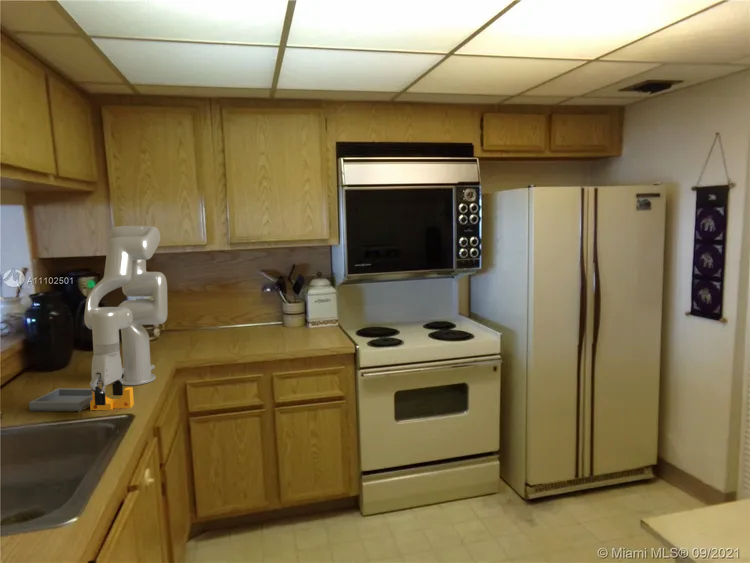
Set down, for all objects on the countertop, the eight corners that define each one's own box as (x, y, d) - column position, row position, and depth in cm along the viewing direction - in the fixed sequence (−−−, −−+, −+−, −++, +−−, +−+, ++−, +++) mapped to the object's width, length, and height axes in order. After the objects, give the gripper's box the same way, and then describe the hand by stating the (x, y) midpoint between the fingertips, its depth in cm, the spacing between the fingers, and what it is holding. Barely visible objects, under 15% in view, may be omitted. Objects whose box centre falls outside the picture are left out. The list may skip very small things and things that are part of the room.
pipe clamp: (90, 411, 163) (89, 392, 162) (97, 406, 167) (95, 387, 166) (128, 410, 163) (127, 391, 163) (133, 405, 168) (132, 387, 167)
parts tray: (59, 396, 176) (58, 388, 176) (105, 397, 176) (104, 389, 175) (29, 411, 163) (28, 402, 162) (80, 412, 162) (79, 403, 161)
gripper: (110, 342, 170) (113, 391, 172) (78, 354, 153) (81, 408, 155) (132, 343, 170) (134, 392, 172) (101, 354, 153) (104, 409, 154)
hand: (109, 399), depth 163 cm, fingers open, 9 cm apart
